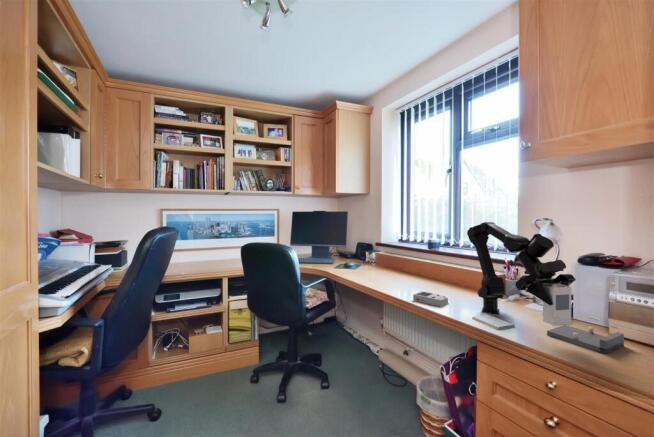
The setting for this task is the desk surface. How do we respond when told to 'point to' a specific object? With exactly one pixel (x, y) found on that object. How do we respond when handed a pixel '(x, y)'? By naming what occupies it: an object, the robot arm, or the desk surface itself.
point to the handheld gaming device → (430, 298)
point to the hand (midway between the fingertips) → (560, 304)
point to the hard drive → (493, 322)
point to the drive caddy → (557, 304)
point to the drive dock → (588, 338)
